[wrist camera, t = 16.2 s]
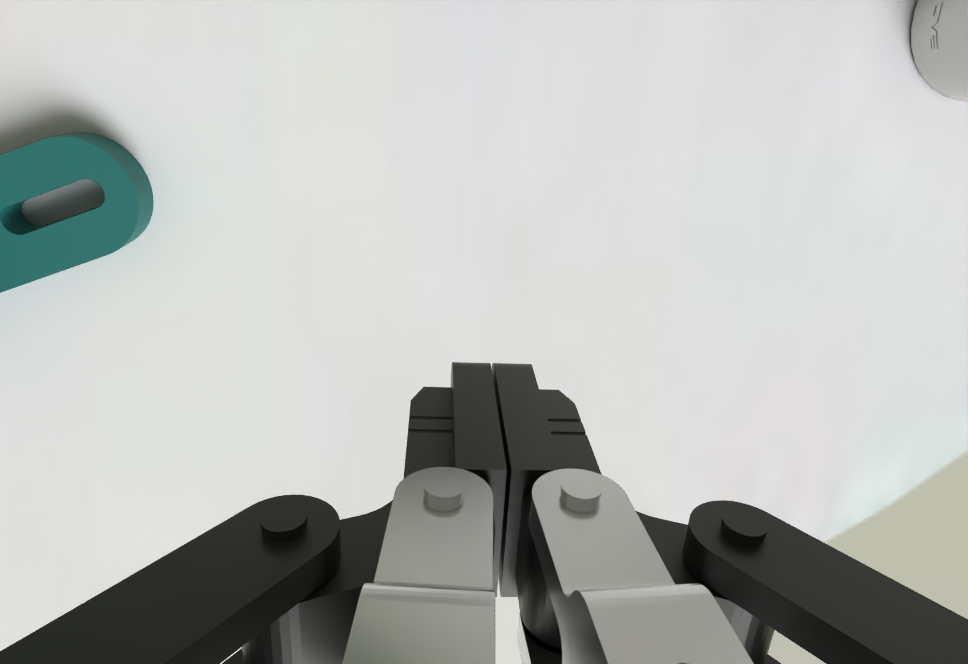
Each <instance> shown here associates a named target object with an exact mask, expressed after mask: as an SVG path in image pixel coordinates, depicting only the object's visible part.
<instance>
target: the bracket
mask: <svg viewBox="0 0 968 664" xmlns="http://www.w3.org/2000/svg"><path fill="white" fill-rule="evenodd" d="M82 179H90V180H93V181H95V182H97V183H98V184H99V185H100V186H101V188H102V189H103V191H104V194H105V200H104V203H103V204H102V205H101V206H98V207H96V208H93V209H90V210H87V211H84V212H82V213H79V214H76V215H73V216H70V217H68V218H65V219H62V220H59V221H57V222H54V223H51V224H48V225H45V226H35V225H33V224H31V223H29V222H28V221H27V220H26V219H25V218H24V216H23V214H22V204H23V203H24V201H26V200H27V199H29V198H32V197H35V196H38V195H40V194H43V193H46V192H49V191H51V190H54V189H57V188H60V187H62V186H65V185H68V184H71V183H73V182H76V181H79V180H82ZM152 211H153V193H152V188H151V185H150V182H149V179H148V177H147V175H146V173H145V171H144V170H143V168H142V167H141V165H140V164H139V162H138V161H137V160H136V159H135V158H134V157H133V156H132V155H131V154H130V153H129V152H128V151H127V150H126V149H124V148H123V147H122V146H120V145H119V144H117V143H115V142H114V141H112V140H110V139H108V138H105V137H102V136H99V135H96V134H91V133H70V134H64V135H60V136H55V137H50V138H46V139H42V140H39V141H37V142H34V143H31V144H29V145H26V146H23V147H20V148H18V149H15V150H12V151H10V152H7V153H4V154H2V155H0V293H1V292H3V291H6V290H9V289H12V288H15V287H18V286H20V285H23V284H26V283H29V282H32V281H35V280H37V279H40V278H43V277H46V276H49V275H52V274H54V273H57V272H60V271H63V270H66V269H69V268H71V267H74V266H77V265H80V264H83V263H86V262H88V261H91V260H94V259H97V258H100V257H103V256H105V255H108V254H111V253H113V252H115V251H116V250H118V249H120V248H122V247H123V246H125V245H127V244H128V243H130V242H132V241H133V240H135V239H136V238H137V237H139V236H140V235H141V234H142V233H143V231H144V230H145V229H146V227H147V225H148V224H149V221H150V219H151V216H152Z"/></svg>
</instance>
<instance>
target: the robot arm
mask: <svg viewBox="0 0 968 664" xmlns="http://www.w3.org/2000/svg"><path fill="white" fill-rule="evenodd" d="M911 48H912V52H913V57H914V61H915V64H916V66H917V68H918V70H919V72H920V74H921V76H922V78H923V79H924V80H925V81H926V82H927V83H928V84H929V86H930V87H931V88H932V89H934V90H936V91H937V92H939V93H940V94H942V95H943V96H946V97H950V98H953V99H956V100H964V101H968V0H918V2H917V5H916V8H915V11H914V16H913V22H912V27H911ZM498 575H499V584H500V593H501V597H518V600H519V607H520V616H519V626H518V636H517V639H518V646H519V650H520V655H521V659H522V664H781V663H779V662H778V661H777V660H775V659H774V658H772V657H771V656H769V655H768V654H767V653H768V650H769V647H770V643H771V640H772V636H773V633H774V630H776V631H777V632H779V633H781V634H782V635H784V636H785V637H787V638H788V639H790V640H791V641H793V642H794V643H796V644H797V645H799V646H800V647H802V648H803V649H805V650H806V651H808V652H810V653H811V654H813V655H814V656H816V657H817V658H819V659H820V660H822V661H823V662H825V663H826V664H968V619H966V618H964V617H962V616H960V615H958V614H956V613H955V612H952V611H951V610H949V609H947V608H945V607H943V606H941V605H940V604H938V603H936V602H934V601H932V600H930V599H928V598H926V597H925V596H923V595H921V594H919V593H917V592H915V591H913V590H911V589H909V588H908V587H905V586H904V585H902V584H900V583H898V582H896V581H895V580H893V579H891V578H889V577H887V576H885V575H883V574H881V573H879V572H878V571H876V570H874V569H872V568H870V567H868V566H866V565H865V564H863V563H861V562H859V561H857V560H855V559H853V558H851V557H849V556H848V555H846V554H844V553H842V552H840V551H838V550H836V549H834V548H833V547H831V546H829V545H827V544H825V543H823V542H821V541H820V540H818V539H816V538H814V537H812V536H810V535H808V534H806V533H805V532H803V531H801V530H799V529H797V528H795V527H793V526H791V525H789V524H788V523H786V522H784V521H782V520H780V519H778V518H776V517H774V516H773V515H771V514H769V513H767V512H765V511H763V510H761V509H759V508H756V507H753V506H751V505H747V504H743V503H739V502H734V501H711V502H707V503H703V504H701V505H699V506H697V507H696V508H695V509H694V510H693V511H692V513H691V515H690V519H689V523H688V525H686V524H681V523H677V522H672V521H668V520H663V519H659V518H655V517H651V516H648V515H645V514H642V513H639V512H637V511H635V509H634V507H633V505H632V504H631V502H630V500H629V498H628V496H627V494H626V493H625V491H624V490H623V489H622V488H621V487H620V486H619V485H618V484H617V483H615V482H614V481H613V480H611V479H609V478H608V477H606V476H603V475H602V474H601V472H600V469H599V466H598V464H597V461H596V459H595V456H594V453H593V451H592V448H591V445H590V443H589V440H588V437H587V435H585V430H584V427H583V424H582V422H581V419H580V416H579V414H578V411H577V408H576V406H575V404H574V403H573V402H572V401H571V400H570V399H569V398H567V397H566V396H565V395H564V394H563V393H562V392H560V391H559V390H539V389H538V385H537V382H536V378H535V375H534V371H533V368H532V365H531V364H502V363H493V365H492V370H491V364H490V363H459V362H452V371H451V388H444V387H423V388H422V389H421V390H420V391H419V392H418V393H417V395H416V396H415V397H414V398H413V399H412V400H411V405H410V417H409V427H408V438H407V448H406V459H405V470H404V479H403V480H402V481H401V482H400V483H399V485H398V486H397V488H396V490H395V493H394V498H393V500H392V501H391V502H390V503H388V504H387V505H385V506H384V507H382V508H380V509H378V510H376V511H373V512H370V513H368V514H364V515H360V516H356V517H351V518H347V519H342V520H339V516H338V514H337V512H336V510H335V509H334V508H333V507H332V506H331V505H329V504H328V503H327V502H325V501H323V500H321V499H318V498H315V497H311V496H305V495H283V496H277V497H273V498H269V499H266V500H263V501H260V502H258V503H256V504H254V505H252V506H250V507H248V508H247V509H245V510H243V511H241V512H240V513H238V514H236V515H234V516H233V517H231V518H229V519H228V520H226V521H224V522H222V523H221V524H219V525H217V526H215V527H214V528H212V529H210V530H209V531H207V532H205V533H203V534H202V535H200V536H198V537H197V538H195V539H193V540H191V541H190V542H188V543H186V544H184V545H183V546H181V547H179V548H178V549H176V550H174V551H172V552H171V553H169V554H167V555H166V556H164V557H162V558H160V559H159V560H157V561H155V562H153V563H152V564H150V565H148V566H147V567H145V568H143V569H141V570H140V571H138V572H136V573H135V574H133V575H131V576H129V577H128V578H126V579H124V580H122V581H121V582H119V583H117V584H116V585H114V586H112V587H110V588H109V589H107V590H105V591H104V592H102V593H100V594H98V595H97V596H95V597H93V598H91V599H90V600H88V601H86V602H85V603H83V604H81V605H79V606H78V607H76V608H74V609H73V610H71V611H69V612H67V613H66V614H64V615H62V616H60V617H59V618H57V619H55V620H54V621H52V622H50V623H48V624H47V625H45V626H43V627H41V628H40V629H38V630H36V631H35V632H33V633H31V634H29V635H28V636H26V637H24V638H23V639H21V640H19V641H17V642H16V643H14V644H12V645H10V646H9V647H7V648H5V649H4V650H2V651H0V664H220V663H221V662H222V661H224V660H225V659H226V658H227V657H229V656H230V655H231V654H233V653H234V652H235V651H237V650H238V649H239V648H241V647H242V649H240V650H239V651H238V652H236V653H235V654H234V655H233V656H231V657H230V658H229V659H227V660H226V661H225V662H223V663H222V664H495V597H497V585H498Z"/></svg>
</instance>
